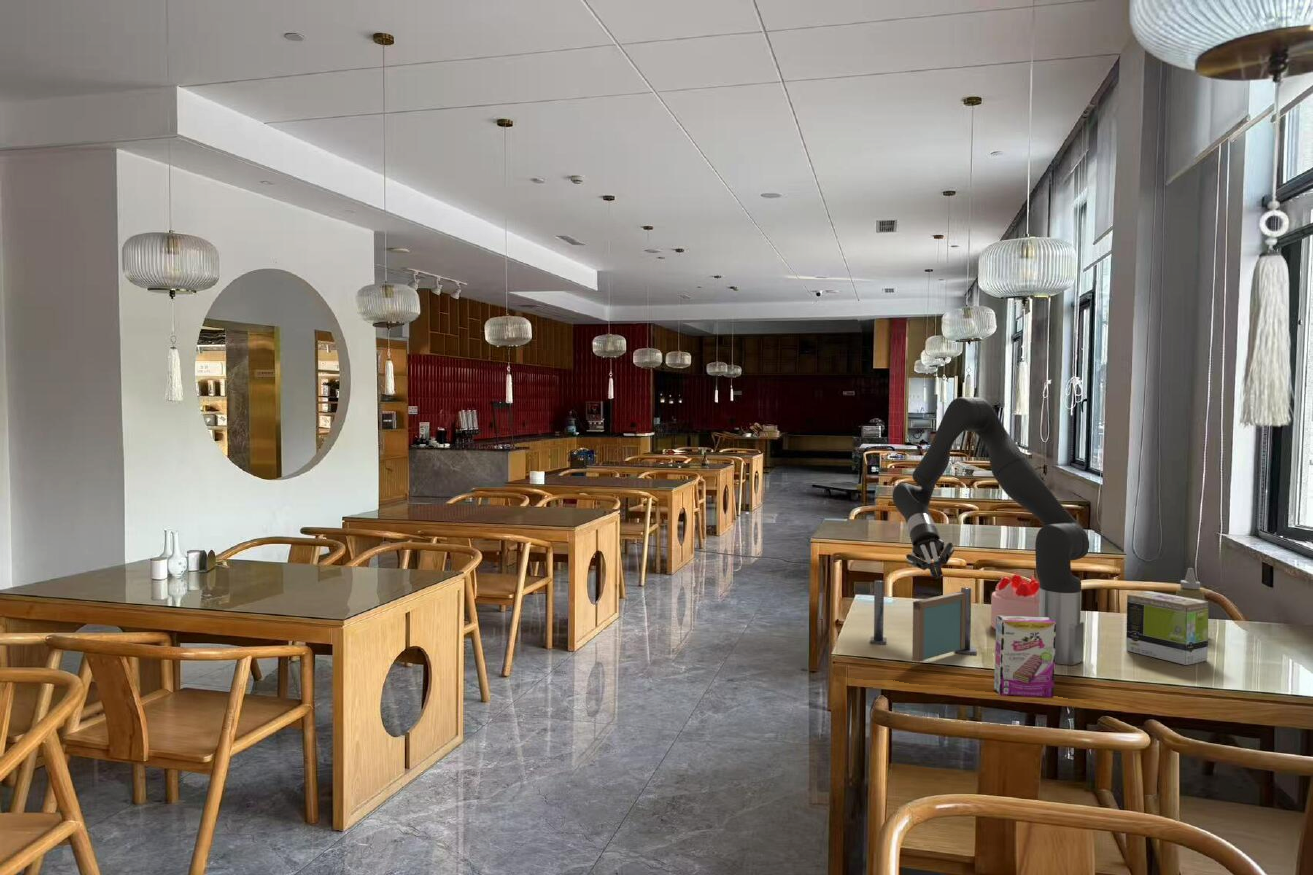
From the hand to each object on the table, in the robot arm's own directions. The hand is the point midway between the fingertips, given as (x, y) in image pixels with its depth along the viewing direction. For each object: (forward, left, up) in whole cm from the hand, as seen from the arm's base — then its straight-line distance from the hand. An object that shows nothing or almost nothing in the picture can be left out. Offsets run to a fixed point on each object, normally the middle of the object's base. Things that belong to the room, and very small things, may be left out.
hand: (937, 575), depth 222 cm
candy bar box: (-32, +23, -18) cm, 43 cm away
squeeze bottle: (-42, -60, -18) cm, 76 cm away
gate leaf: (-7, +12, -17) cm, 22 cm away
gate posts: (+1, +5, -18) cm, 19 cm away
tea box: (-44, -32, -18) cm, 58 cm away
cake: (-10, -33, -18) cm, 39 cm away
